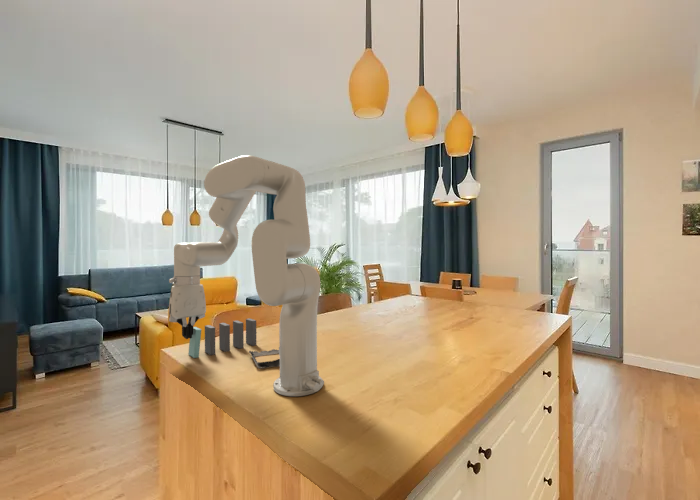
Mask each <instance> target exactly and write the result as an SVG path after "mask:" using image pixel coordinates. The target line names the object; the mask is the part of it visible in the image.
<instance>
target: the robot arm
mask: <svg viewBox="0 0 700 500" xmlns="http://www.w3.org/2000/svg"><path fill="white" fill-rule="evenodd" d="M203 185H204V190H205V192H206V193H207V194H208V195H209V196H211V197H214V198H215V200H214V201H213V204H212V205H211V207H210V208H209V211H208V216H209V219H210V220H211V221H212V222H213V223H214V224H216V225H217V226H218V227H220V228H221V229H223V232H222V233H221V235H220V238H218V241H215V242H214V241H195V242H194V241H192V242H178V243H176V244H175V245H173V277H172V278H169V279H168V282H169V284H173V285H172V286H171V288H170V295H169V302H168V303H169V307H168V314H169V319H168V322H170V323H177V324H179V325H180V326H181V335H182V337H183V338H184V339H185V340H188V339H190V338H192V335H193V327H194V326H195V324H196V322H198V320H200V319H203V318H205V317H206V312H207V305H206V304H207V302H206V295H205V289H204V284H202V283H201V267H210V266H222V265H224V264H225V263H227V262H228V261H229V259H230V258H231V256H232V255H233V254H234V252H235V250H236V248H238V243H239V229H238V227H237V225H238V223H239V221H240V219H241V218H242V216H243V214H244V212H245V211H246V210H247V207H248V206H249V204H251V203H250V202H251V201H252V199H253V197H254V195H255V194H256V192H258V193H262V194H269V195H276V196H275V198H274V201H273V202H274V203H273V207H272V211H273V218H274V219H266V220H264V221H263V220H262V221H261V222H260V223H258V225H256V227H255V229H254V230H253V233H252V236H251V241H250V242H251V243H250V244H251V245H250V246H251V257H252V266H253V274H254V275H253V276H254V283H255V284H254V285H255V289H256V292H257V295H258V297H259V299H260V300H261V301H262V303H264V304H265V305H267V306H271V307H279V306H281V309H280V314H279V334H278V335H279V340H278V341H279V346H280V355H279V359H280V366H279V377H278V378H276V379H275V380H274V382H273V390H274V392H276V393H277V394H279V395H282V396H286V397H304V396H308V395H312V394H315V393H317V392H319V391H320V390H321V389H322V388H323V386H324V384H325V380H324V379H323V378H322V377H321V376H320V371H319V370H318V304H319V296H320V291H321V277H320V275H319V273H318V271H317V269H316V268H315V267H313V266H312V265H311V264H307V263H300V262H298V263H288V261H287V260H289V259H291V260H292V259H298V258H302V257H304V256H305V255H307V254H308V252H309V251H310V249H311V236H310V226H309V216H308V210H307V203H306V202H307V201H306V199H307V198H306V196H307V195H306V183H305V180H304V177H303V175H302V174H301V173H300V172H299V171H298V170H297V169H295V168H293V167H291V166H287V165H284V164H283V163H282V164H281V163H278V162H276V161H275V162H274V161H272V160H267V159H264V158H261V157H259V156H256V155H249V154H246V155H240V156H238V157H234V158H232V159H229V160H226V161H224V162H220V163H219V164H216V165H214V166H213V167H211V168H210V169H209V170H208V172H207V174H206V175H205V178H204V184H203ZM187 318H188V321H187Z"/></svg>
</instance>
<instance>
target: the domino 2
mask: <svg viewBox="0 0 700 500" xmlns="http://www.w3.org/2000/svg"><path fill="white" fill-rule="evenodd" d="M218 324H219V325H218V330H219V331H218V334H219V337H218V338H219V342H218V343H219V350H221V351H222V352H224V353H227V352H230V351H231V326H230V325H231V324H228V323H226V322H221V323H218Z"/></svg>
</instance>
